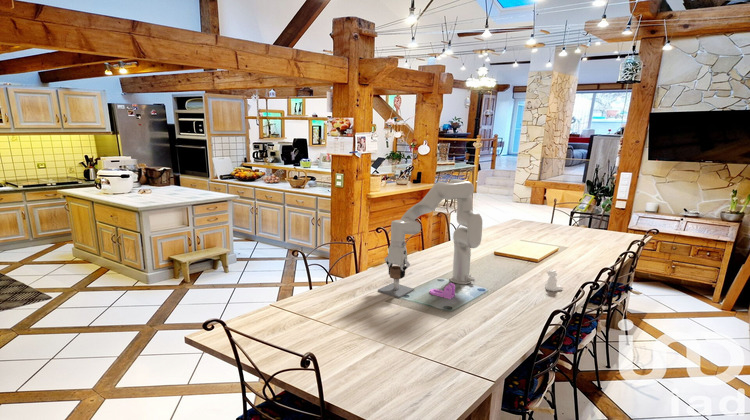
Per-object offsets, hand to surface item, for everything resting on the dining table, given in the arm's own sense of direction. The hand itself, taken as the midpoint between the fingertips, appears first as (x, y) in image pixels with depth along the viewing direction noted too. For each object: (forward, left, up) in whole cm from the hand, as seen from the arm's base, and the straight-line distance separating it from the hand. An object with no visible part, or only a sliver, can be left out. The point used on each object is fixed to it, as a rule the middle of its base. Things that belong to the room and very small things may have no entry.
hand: (396, 275), depth 219 cm
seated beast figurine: (-64, -60, -9) cm, 88 cm away
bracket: (-21, -12, -9) cm, 26 cm away
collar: (0, 0, -1) cm, 1 cm away
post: (0, 0, -9) cm, 9 cm away
